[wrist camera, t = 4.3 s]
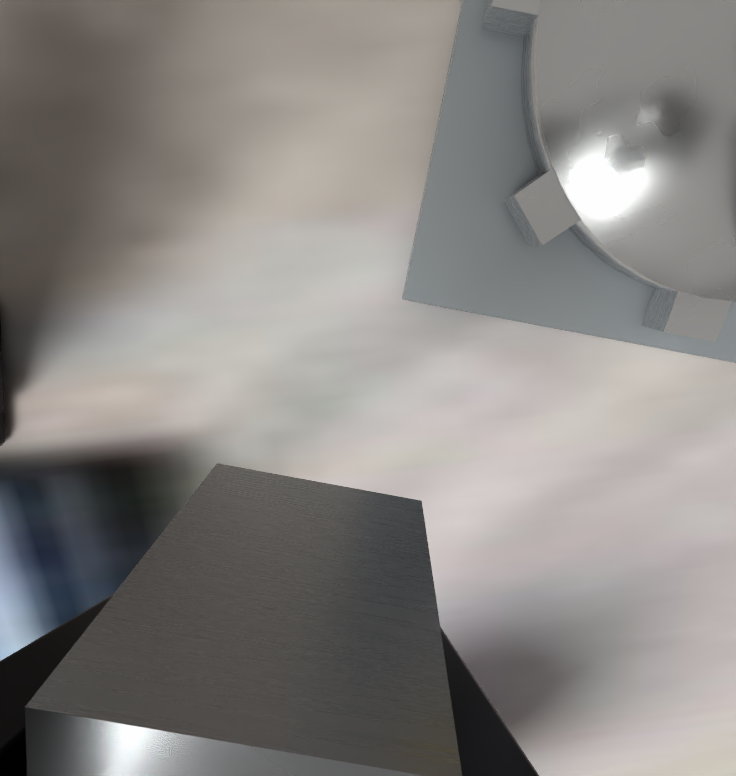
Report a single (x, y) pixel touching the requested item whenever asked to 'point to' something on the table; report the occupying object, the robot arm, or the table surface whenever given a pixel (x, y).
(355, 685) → the link block
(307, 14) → the table surface
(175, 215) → the table surface
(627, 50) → the sprocket
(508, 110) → the base plate
